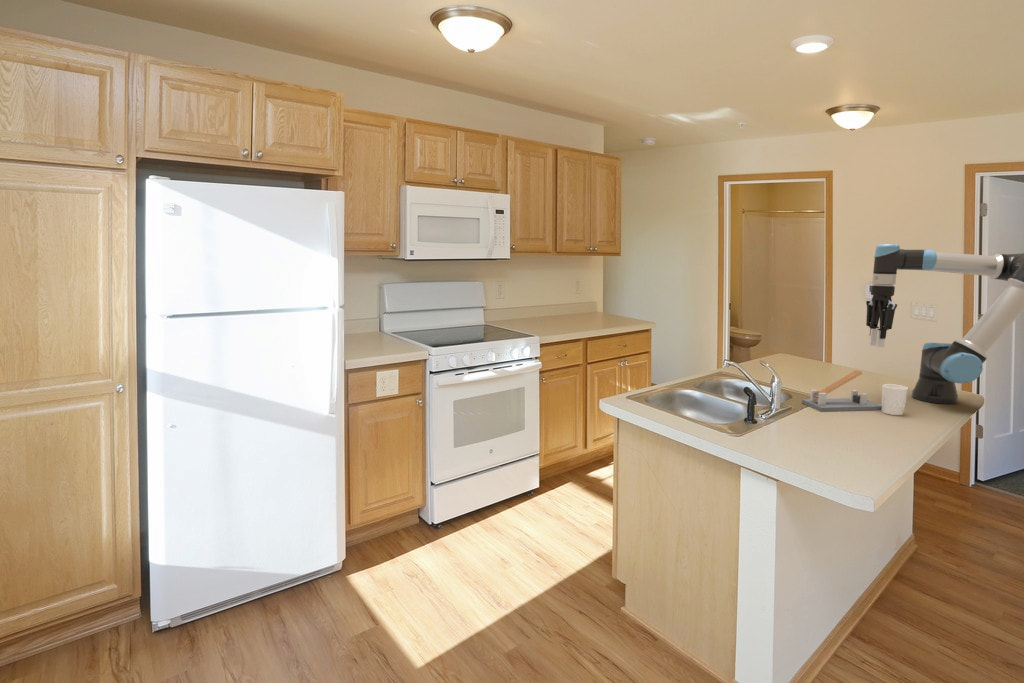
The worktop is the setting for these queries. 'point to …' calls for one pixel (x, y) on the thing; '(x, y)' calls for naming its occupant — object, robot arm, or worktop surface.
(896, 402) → the white cup
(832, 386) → the strap
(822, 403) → the mount
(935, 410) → the worktop surface
